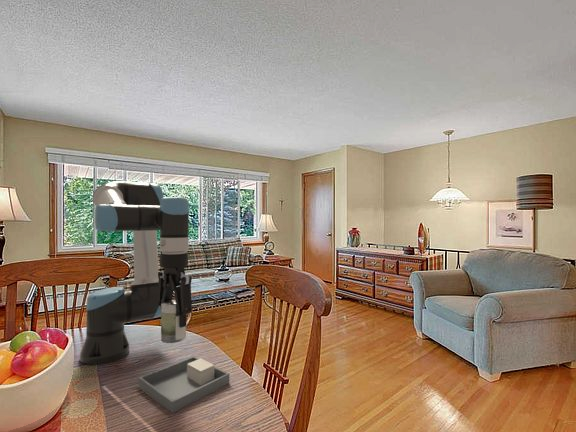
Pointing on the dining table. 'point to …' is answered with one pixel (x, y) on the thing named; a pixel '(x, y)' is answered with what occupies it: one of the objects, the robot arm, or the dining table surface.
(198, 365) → the cream rectangular block
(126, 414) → the dining table surface
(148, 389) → the tray
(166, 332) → the tin can
